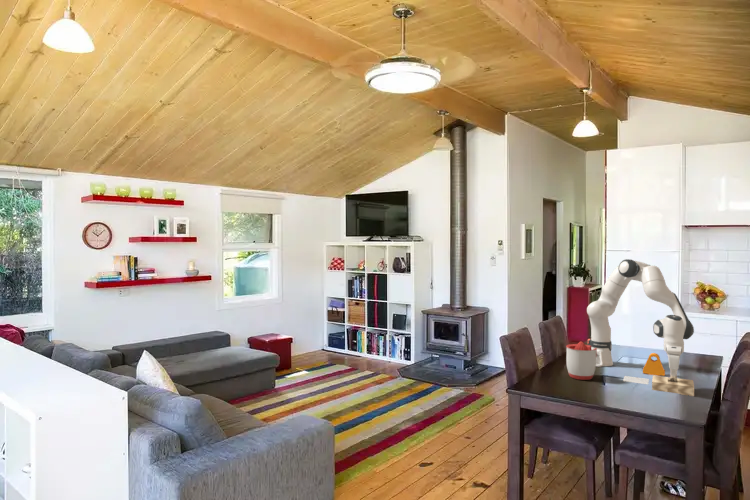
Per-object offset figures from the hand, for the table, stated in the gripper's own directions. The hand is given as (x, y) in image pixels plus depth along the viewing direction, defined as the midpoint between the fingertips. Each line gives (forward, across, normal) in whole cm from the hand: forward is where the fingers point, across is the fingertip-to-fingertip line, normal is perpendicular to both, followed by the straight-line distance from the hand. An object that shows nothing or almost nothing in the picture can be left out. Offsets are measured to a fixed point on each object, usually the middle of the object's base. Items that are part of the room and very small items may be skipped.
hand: (673, 374), depth 259 cm
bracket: (+8, -29, -9) cm, 31 cm away
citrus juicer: (+8, -1, -43) cm, 44 cm away
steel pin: (+4, 0, 0) cm, 4 cm away
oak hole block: (+8, 0, 0) cm, 8 cm away
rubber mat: (+8, -9, -17) cm, 21 cm away
